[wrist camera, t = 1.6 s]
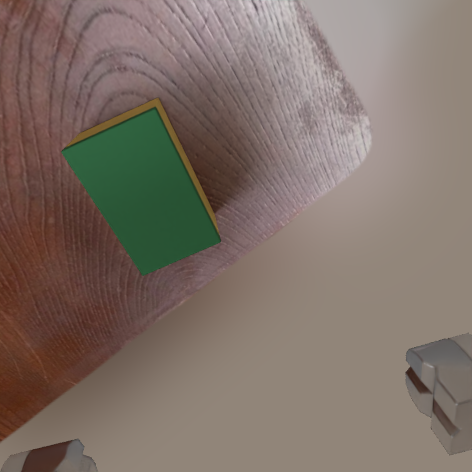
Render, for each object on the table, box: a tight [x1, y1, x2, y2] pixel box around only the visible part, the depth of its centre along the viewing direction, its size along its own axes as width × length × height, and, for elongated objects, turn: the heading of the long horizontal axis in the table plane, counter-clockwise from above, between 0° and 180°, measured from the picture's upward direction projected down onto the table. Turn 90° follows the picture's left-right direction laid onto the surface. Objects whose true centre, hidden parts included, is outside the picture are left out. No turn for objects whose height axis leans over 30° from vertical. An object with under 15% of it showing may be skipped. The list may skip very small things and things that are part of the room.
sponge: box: [61, 98, 221, 276], centre depth 21 cm, size 8×5×4 cm, turn 22°
